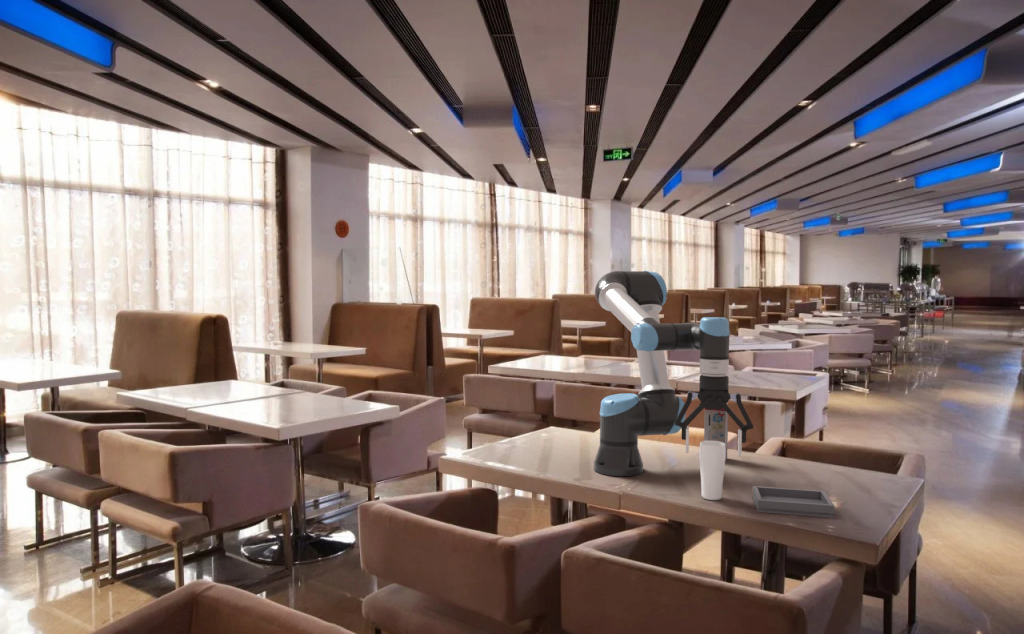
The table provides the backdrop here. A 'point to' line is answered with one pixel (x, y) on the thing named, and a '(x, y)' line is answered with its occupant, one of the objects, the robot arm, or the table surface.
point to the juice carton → (716, 426)
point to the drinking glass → (712, 469)
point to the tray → (793, 501)
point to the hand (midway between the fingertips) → (713, 453)
